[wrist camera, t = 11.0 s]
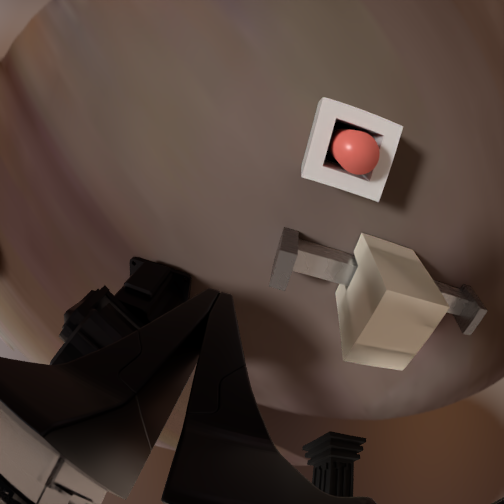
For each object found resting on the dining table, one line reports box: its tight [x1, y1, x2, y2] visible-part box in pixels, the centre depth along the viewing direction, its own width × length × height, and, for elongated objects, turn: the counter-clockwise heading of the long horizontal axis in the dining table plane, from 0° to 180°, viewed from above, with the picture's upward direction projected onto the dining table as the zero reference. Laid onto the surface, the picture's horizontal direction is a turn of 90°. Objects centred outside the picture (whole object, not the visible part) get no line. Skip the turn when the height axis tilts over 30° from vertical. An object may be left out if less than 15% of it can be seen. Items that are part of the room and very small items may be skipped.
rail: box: [269, 227, 488, 335], centre depth 20 cm, size 3×20×4 cm, turn 77°
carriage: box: [335, 233, 450, 370], centre depth 18 cm, size 6×5×8 cm
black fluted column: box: [303, 432, 366, 497], centre depth 29 cm, size 8×8×20 cm
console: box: [301, 97, 403, 202], centre depth 16 cm, size 5×5×4 cm
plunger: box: [328, 128, 380, 175], centre depth 15 cm, size 2×2×5 cm
